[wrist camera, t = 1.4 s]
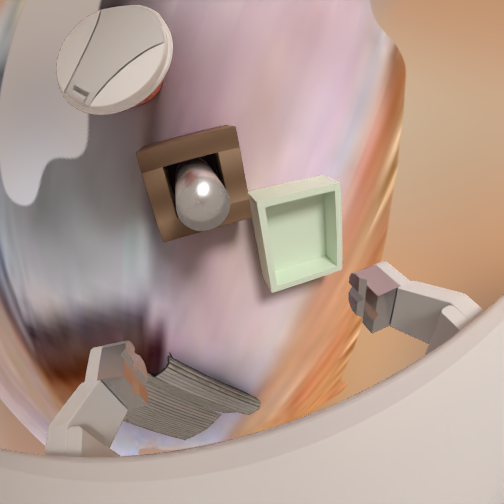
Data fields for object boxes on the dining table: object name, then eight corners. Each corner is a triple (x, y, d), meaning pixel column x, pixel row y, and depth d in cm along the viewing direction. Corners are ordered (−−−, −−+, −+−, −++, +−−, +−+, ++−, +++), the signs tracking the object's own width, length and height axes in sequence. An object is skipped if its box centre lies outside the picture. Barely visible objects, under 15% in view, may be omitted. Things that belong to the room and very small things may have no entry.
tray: (246, 191, 32) (256, 202, 28) (323, 174, 33) (340, 182, 30) (262, 276, 38) (271, 293, 35) (328, 255, 39) (342, 269, 36)
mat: (96, 400, 43) (94, 419, 39) (167, 343, 40) (169, 366, 36) (181, 433, 55) (184, 450, 51) (257, 390, 52) (263, 408, 48)
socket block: (142, 147, 26) (136, 153, 22) (225, 125, 28) (235, 126, 23) (164, 223, 31) (163, 242, 27) (241, 202, 32) (252, 217, 28)
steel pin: (171, 162, 28) (169, 187, 19) (207, 153, 29) (224, 172, 19) (180, 196, 30) (184, 237, 21) (214, 187, 31) (235, 222, 21)
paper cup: (144, 128, 25) (119, 137, 14) (89, 95, 22) (28, 85, 10) (189, 69, 24) (202, 31, 12) (133, 35, 20) (106, -18, 8)
